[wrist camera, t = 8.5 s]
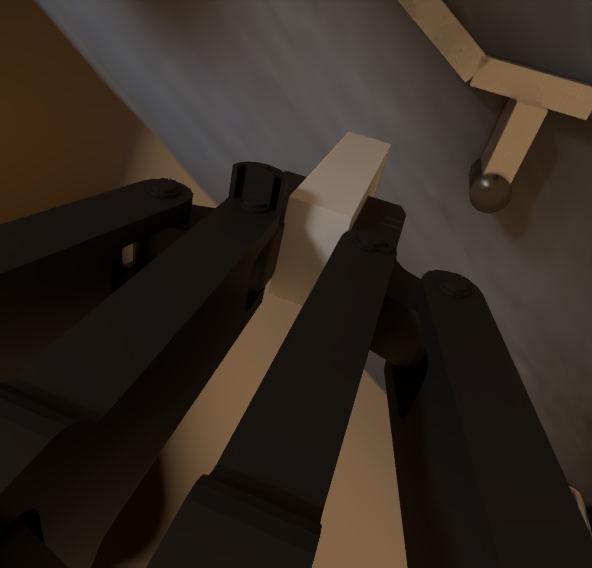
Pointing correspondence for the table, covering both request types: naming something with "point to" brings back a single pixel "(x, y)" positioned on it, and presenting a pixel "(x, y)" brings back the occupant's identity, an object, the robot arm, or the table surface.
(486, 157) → the indicator ring
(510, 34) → the table surface
